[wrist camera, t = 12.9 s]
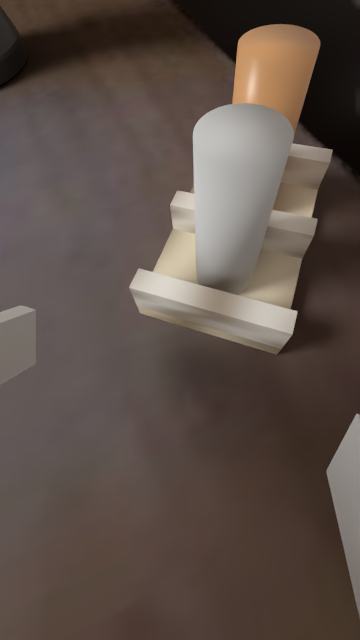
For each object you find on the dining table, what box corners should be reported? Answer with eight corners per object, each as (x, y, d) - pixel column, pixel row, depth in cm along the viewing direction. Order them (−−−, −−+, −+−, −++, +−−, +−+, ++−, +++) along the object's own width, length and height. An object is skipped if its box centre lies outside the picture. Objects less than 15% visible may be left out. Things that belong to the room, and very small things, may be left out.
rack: (140, 313, 21) (129, 287, 18) (206, 169, 27) (207, 130, 24) (276, 354, 19) (292, 334, 16) (315, 189, 25) (332, 149, 22)
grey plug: (195, 252, 22) (192, 106, 12) (249, 250, 21) (285, 100, 12) (196, 298, 20) (194, 169, 11) (255, 296, 20) (302, 163, 11)
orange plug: (222, 186, 24) (234, 28, 15) (270, 183, 24) (311, 20, 15) (225, 222, 23) (241, 67, 14) (276, 219, 22) (328, 60, 13)
